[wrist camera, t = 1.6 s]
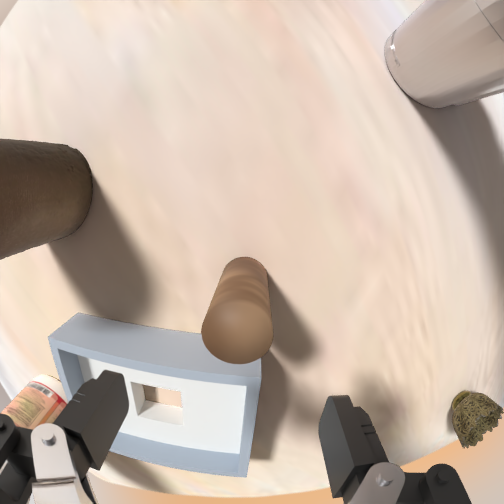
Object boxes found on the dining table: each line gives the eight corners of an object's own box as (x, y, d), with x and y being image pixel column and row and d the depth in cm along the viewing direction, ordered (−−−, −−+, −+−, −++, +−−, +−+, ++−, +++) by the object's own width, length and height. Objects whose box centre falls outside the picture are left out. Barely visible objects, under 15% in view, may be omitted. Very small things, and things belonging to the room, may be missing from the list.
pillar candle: (90, 134, 22) (-32, 110, 8) (99, 232, 24) (-22, 279, 10) (27, 158, 23) (-78, 160, 8) (35, 243, 25) (-66, 282, 10)
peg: (269, 258, 25) (277, 306, 15) (265, 301, 26) (269, 366, 16) (223, 255, 25) (201, 299, 15) (220, 297, 26) (201, 360, 16)
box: (260, 339, 26) (261, 377, 21) (248, 441, 30) (246, 477, 24) (78, 312, 26) (47, 336, 21) (102, 413, 30) (85, 442, 24)
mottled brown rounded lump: (445, 422, 30) (466, 454, 22) (434, 404, 29) (459, 440, 21) (480, 392, 29) (504, 420, 21) (473, 370, 28) (503, 400, 20)
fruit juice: (95, 414, 30) (13, 560, 3) (68, 425, 32) (-4, 542, 4) (49, 364, 29) (-64, 495, 1) (28, 381, 30) (-64, 488, 3)
